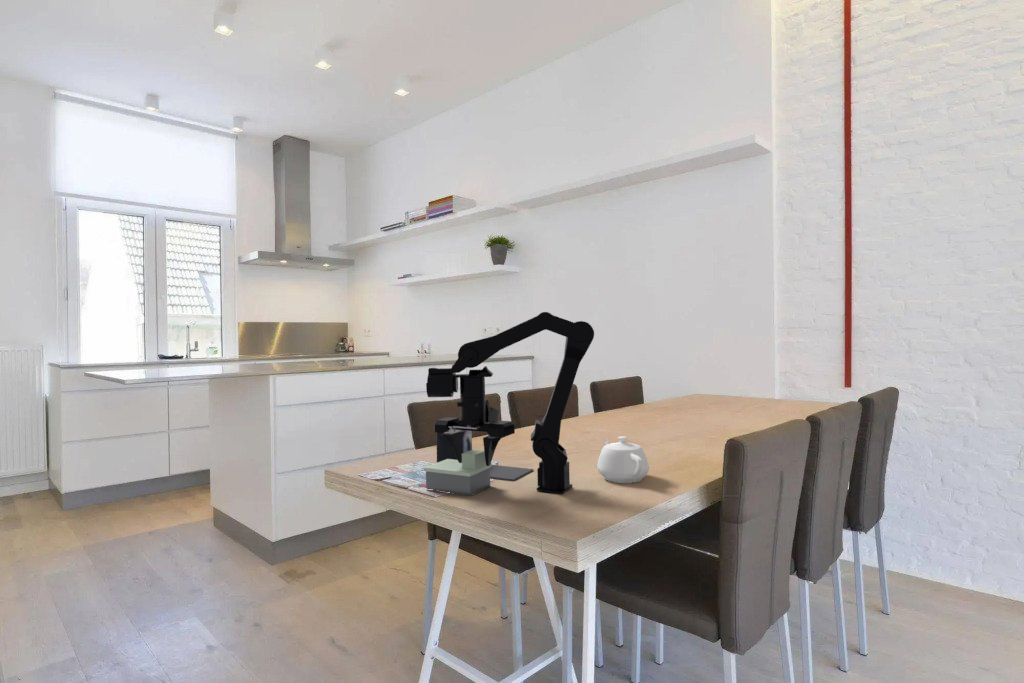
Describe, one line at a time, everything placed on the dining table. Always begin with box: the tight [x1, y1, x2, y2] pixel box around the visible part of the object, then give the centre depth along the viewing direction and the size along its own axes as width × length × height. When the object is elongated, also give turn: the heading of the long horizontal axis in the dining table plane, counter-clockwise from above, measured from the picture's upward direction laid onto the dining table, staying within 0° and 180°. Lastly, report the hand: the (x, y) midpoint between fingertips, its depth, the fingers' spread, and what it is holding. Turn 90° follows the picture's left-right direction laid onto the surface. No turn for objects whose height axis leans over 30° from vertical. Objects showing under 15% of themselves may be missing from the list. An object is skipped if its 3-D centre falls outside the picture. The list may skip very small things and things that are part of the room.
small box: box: [435, 425, 473, 463], centre depth 155 cm, size 11×6×10 cm, turn 161°
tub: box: [425, 468, 491, 497], centre depth 133 cm, size 12×9×4 cm
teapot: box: [596, 435, 650, 484], centre depth 139 cm, size 20×12×10 cm, turn 14°
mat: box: [490, 464, 534, 482], centre depth 147 cm, size 14×11×1 cm
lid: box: [423, 449, 493, 477], centre depth 133 cm, size 13×10×5 cm
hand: (474, 464), depth 131 cm, fingers open, 7 cm apart
